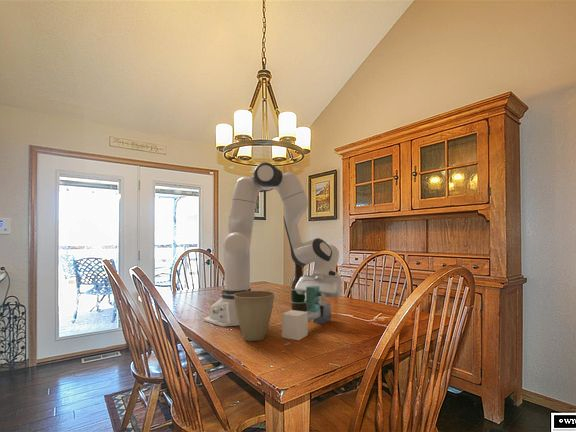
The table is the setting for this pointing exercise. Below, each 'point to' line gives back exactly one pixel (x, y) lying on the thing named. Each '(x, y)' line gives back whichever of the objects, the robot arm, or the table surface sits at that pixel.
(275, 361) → the table surface
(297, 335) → the socket block
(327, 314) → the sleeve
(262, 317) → the plant pot
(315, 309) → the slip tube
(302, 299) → the beer bottle
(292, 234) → the robot arm
